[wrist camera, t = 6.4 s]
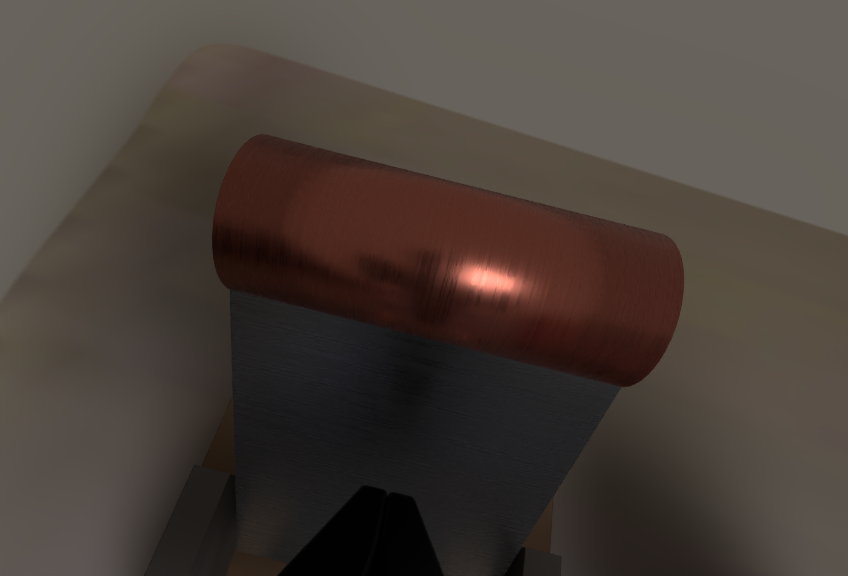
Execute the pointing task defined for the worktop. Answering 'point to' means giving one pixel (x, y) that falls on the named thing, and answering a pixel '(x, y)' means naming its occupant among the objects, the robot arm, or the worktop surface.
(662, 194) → the worktop surface
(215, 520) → the switch block
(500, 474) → the copper roller
